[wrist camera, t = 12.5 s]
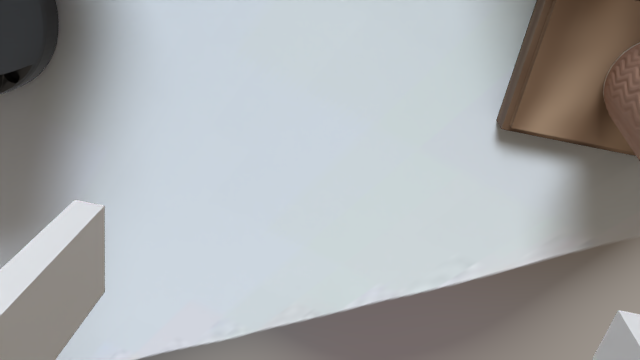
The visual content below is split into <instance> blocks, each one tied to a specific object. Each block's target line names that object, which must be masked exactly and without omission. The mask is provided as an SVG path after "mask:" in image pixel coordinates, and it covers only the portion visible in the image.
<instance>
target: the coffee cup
mask: <svg viewBox="0 0 640 360" xmlns="http://www.w3.org/2000/svg"><path fill="white" fill-rule="evenodd" d="M603 95H604V101H605V104H606V109H607V110H608V112H609V113H608V114H609V115H610V117H611V118H612V120H613V122H614V123H615V125H616V126H617V128H618V129H619V131H620V132H621V133H622V135H623V137H624V138H625V140H626V141H627V143H628V144H629V146H630V147H631V148H632V149H633V151H634V153H635V155H636V156H637V158H638V159H639V161H640V43H638V44H636V45H634V46H632V47H631V48H629V49H628V50H626V51H625V52H624V53H622V54H621V55H620V56H619V57H618V58H617V59H616V61H615V62H614V63H613V65H612V66H611V67H610V69H609V71H608V73H607V75H606V78H605V82H604V88H603Z"/></svg>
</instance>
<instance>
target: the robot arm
mask: <svg viewBox="0 0 640 360" xmlns="http://www.w3.org/2000/svg"><path fill="white" fill-rule="evenodd" d="M57 35H58V14H57V7H56V3H55V0H0V94H2V93H6V92H9V91H11V90H13V89H15V88H17V87H20V86H22V85H24V84H26V83H28V82H29V81H31V80H33V79H34V78H35V77H36V76H38V75H39V74H40V73H41V72H42V71H43V69H44V68H45V67H46V65H47V64H48V62H49V61H50V59H51V57H52V54H53V52H54V49H55V46H56V42H57ZM104 292H105V209H104V205H99V204H94V203H89V202H84V201H79V200H74V201H73V202H72V203H71V204H70V205H69V206H68V207H67V208H65V209H64V210H63V211H62V212H61V213H60V214H59V215H58V216H57V217H56V218H55V219H54V220H53V221H52V222H50V223H49V224H48V225H47V226H46V227H45V228H44V229H43V230H42V231H41V232H40V233H39V234H38V235H37V236H36V237H34V238H33V239H32V240H31V241H30V242H29V243H28V244H27V245H26V246H25V247H24V248H23V249H22V250H21V251H19V252H18V253H17V254H16V255H15V256H14V257H13V258H12V259H11V260H10V261H9V262H8V263H7V264H6V265H4V266H3V267H2V268H1V269H0V360H55V359H56V358H57V357H58V355H59V354H60V352H61V351H62V350H63V348H64V347H65V346H66V344H67V343H68V342H69V340H70V339H71V337H72V336H73V335H74V333H75V332H76V331H77V329H78V328H79V326H80V325H81V324H82V322H83V321H84V320H85V318H86V317H87V316H88V314H89V313H90V311H91V310H92V309H93V307H94V306H95V305H96V303H97V302H98V300H99V299H100V298H101V296H102V295H103V294H104ZM592 360H640V314H635V313H630V312H625V311H620V310H618V311H617V313H616V315H615V317H614V319H613V321H612V323H611V325H610V327H609V328H608V330H607V332H606V334H605V336H604V338H603V340H602V342H601V343H600V346H599V347H598V349H597V351H596V353H595V355H594V357H593V359H592Z"/></svg>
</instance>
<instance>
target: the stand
mask: <svg viewBox="0 0 640 360" xmlns="http://www.w3.org/2000/svg"><path fill="white" fill-rule="evenodd" d="M638 43H640V0H537V2H536V5H535V8H534V11H533V13H532V16H531V19H530V22H529V25H528V28H527V31H526V34H525V37H524V40H523V43H522V46H521V49H520V52H519V55H518V58H517V61H516V64H515V67H514V70H513V73H512V76H511V79H510V82H509V85H508V88H507V90H506V93H505V96H504V99H503V102H502V105H501V108H500V111H499V114H498V117H497V122H498V124H499V125H500V127H501V129H504V130H509V131H514V132H519V133H524V134H529V135H534V136H539V137H544V138H549V139H554V140H559V141H564V142H569V143H574V144H579V145H584V146H589V147H594V148H599V149H604V150H609V151H614V152H619V153H624V154H629V155H634V156H636V155H635V153H634V151H633V149H632V148H631V147H630V146H629V144H628V143H627V141H626V140H625V138H624V137H623V135H622V133H621V132H620V131H619V129H618V128H617V126H616V125H615V123H614V122H613V120H612V118H611V117H610V115H609V114H608V113H609V112H608V110H607V109H606V104H605V101H604V95H603V88H604V82H605V78H606V75H607V73H608V71H609V69H610V67H611V66H612V65H613V63H614V62H615V61H616V59H617V58H618V57H619V56H620V55H621V54H622V53H624V52H625V51H626V50H628V49H629V48H631V47H632V46H634V45H636V44H638Z"/></svg>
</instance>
